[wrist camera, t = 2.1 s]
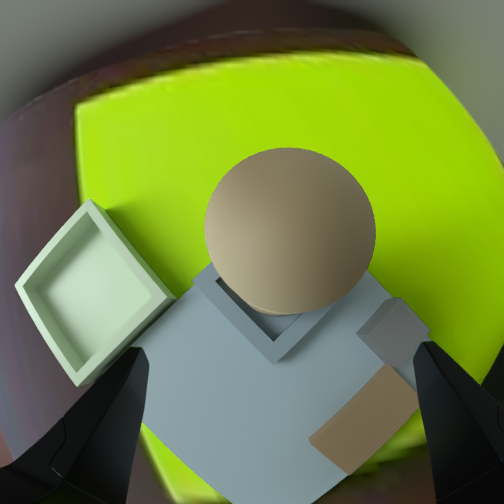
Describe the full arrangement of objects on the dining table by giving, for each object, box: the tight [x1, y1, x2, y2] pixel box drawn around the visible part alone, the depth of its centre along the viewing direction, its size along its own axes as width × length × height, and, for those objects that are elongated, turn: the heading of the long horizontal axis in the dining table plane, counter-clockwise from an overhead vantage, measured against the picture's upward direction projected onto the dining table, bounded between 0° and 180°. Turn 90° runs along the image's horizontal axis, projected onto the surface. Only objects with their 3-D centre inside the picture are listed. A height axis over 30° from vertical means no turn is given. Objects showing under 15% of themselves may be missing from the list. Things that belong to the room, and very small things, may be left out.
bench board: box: [102, 262, 432, 504], centre depth 18 cm, size 18×17×4 cm
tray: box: [15, 198, 178, 387], centre depth 20 cm, size 9×9×2 cm
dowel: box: [205, 148, 376, 316], centre depth 14 cm, size 4×4×13 cm
